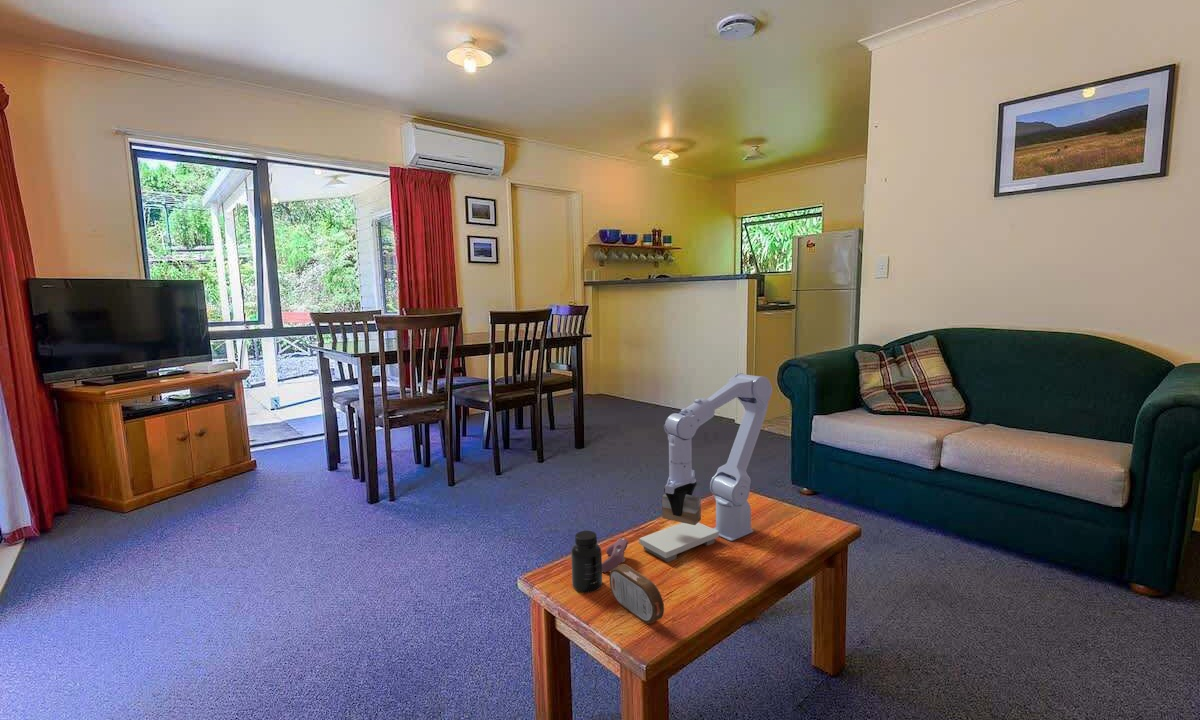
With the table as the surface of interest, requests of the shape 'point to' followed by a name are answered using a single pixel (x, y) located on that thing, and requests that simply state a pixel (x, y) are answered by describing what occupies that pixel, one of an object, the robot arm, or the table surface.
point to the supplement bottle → (586, 562)
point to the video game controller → (615, 555)
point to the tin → (636, 593)
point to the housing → (689, 513)
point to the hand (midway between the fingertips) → (680, 512)
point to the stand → (678, 539)
